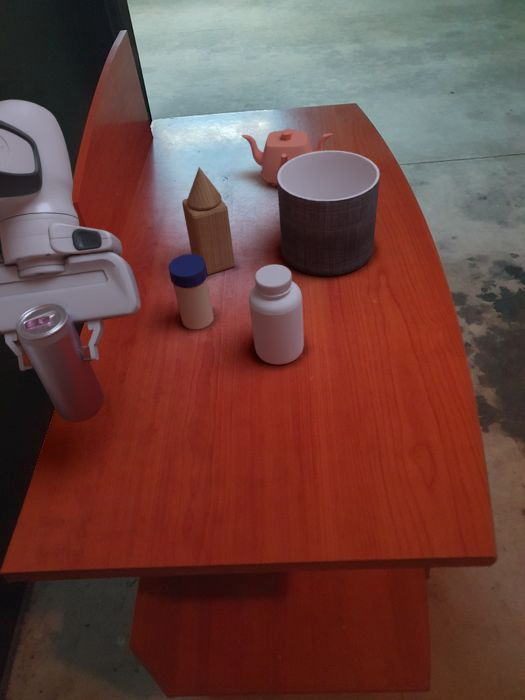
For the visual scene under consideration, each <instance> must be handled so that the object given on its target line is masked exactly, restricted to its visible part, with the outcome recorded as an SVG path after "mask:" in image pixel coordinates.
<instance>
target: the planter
mask: <svg viewBox="0 0 525 700" xmlns="http://www.w3.org/2000/svg"><path fill="white" fill-rule="evenodd" d="M380 176H381V173H380V169H379V167H378V166H377V165H376V163H374V162H373V160H371V159H370V158H367V157H365V156H364V155H362V154H358V153H354V152H351V151H345V150H330V149H329V150H324V151H317V152H311V153H306V154H303V155H300V156H297V157H295V158H293V159H291V160H289V161H288V162H286V163H285V164H284V165H283V166H282V167H281V168H280V169H279V171H278V174H277V185H278V186H277V199H278V201H277V202H278V215H279V228H280V229H279V230H280V231H279V232H280V247H281V248H280V252H281V256H282V257H283V258H282V259H284V261H285V263H287V264H288V265H289V266H290V267H292V268H293V269H295V270H297V271H299V272H301V273H304V274H308V275H312V276H320V277H334V276H335V277H336V276H341V275H346V274H350V273H352V272H354V271H356V270H359V269H361V268H362V267H363V266H365V265H366V264H367V263H368V262H369V261H370V260H371V258H372V256H373V255H374V249H375V232H376V224H377V223H376V222H377V211H378V202H379V201H378V200H379V191H380V189H379V187H380V178H381V177H380Z"/></svg>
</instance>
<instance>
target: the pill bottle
mask: <svg viewBox="0 0 525 700" xmlns="http://www.w3.org/2000/svg"><path fill="white" fill-rule="evenodd" d="M254 284H255V285H253V287H251V290H250V292H249V295H248V305H249V313H250V320H251V326H252V327H251V329H252V336H253V343H254V349H255V352H256V354H257V356H258V357H259V358H260V359H261V360H262V361H263V362H265V363H268V364H271V365H276V366H277V365H278V366H279V365H286V364H290V363H292V362H294V361H295V360H297V359H298V358H300V356H301V355H302V353H303V351H304V347H305V336H304V335H305V334H304V317H303V316H304V313H303V312H304V311H303V296H302V295H303V294H302V291H301V289H300V287H299V286H298V284H297V283H296V282H294V281H293V276H292V271H291V270H290V269H289V268H288V267H286V266H284V265H281V264H268V265H264V266H262V267H260V268H259V269H258V270H257V271H256V273H255V275H254Z"/></svg>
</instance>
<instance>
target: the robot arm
mask: <svg viewBox="0 0 525 700" xmlns="http://www.w3.org/2000/svg"><path fill="white" fill-rule="evenodd" d="M73 191H74V179H73V171H72V166H71V160H70V156H69V151H68V147H67V144H66V140H65V137H64V134H63V131H62V129H61V126H60V124H59V122H58V121H57V118H56V117H55V115H54V114H53V113H52V112H51V111H50V110H48V109H47V108H45V107H43V106H42V105H39V104H37V103H35V102H32V101H28V100H25V99H24V100H22V99H5V100H0V244H1V251H2V253H0V336H2V335H3V336H4V340H5V344H6V345H7V347H8V348H9V349H10V350H11V351H12V352H13V353H14V355H15V356H17V360H18V361H17V362H18V367H19V370H20V371H21V372H24V371H31V370H35V369H34V367H33V365H32V363H31V361H30V360H29V358H28V356H27V354H26V352H25V350H24V348H23V346H22V345H21V343H20V341H19V339H18V333H17V331H16V323H17V321H18V319H19V318H20V316H21V315H22V314H24V313H25V312H26V311H28V310H29V309H31V308H33V307H36V306H39V305H43V304H57V305H60V306H62V307H63V308H64V309H65V310H66V311H67V313H68V314H69V315H70V317H71V319H72V321H73V323H74V325H79V324H85V323H87V330H88V331H92V333H91V336H90V339H89V340H88V344H87V345H83V347H82V353H83V356H82V357H83V361H84V362H86V361H90V362H93V361H99V359H100V355H99V349H98V347H99V346H98V345H99V344H100V342H101V339H102V337H103V334H104V332H105V324H104V321H107V320H114V319H121V318H128V317H134V316H137V315H138V313H139V312H140V310H141V308H142V302H141V301H142V300H141V297H140V291H139V287H138V283H137V281H136V277H135V274H134V271H133V269H132V267H131V265H130V264H129V262H128V261H126V260H125V259H124V258H123V257H122V255H123V252H124V251H123V244H122V242H121V241H120V239H119V238H118V237H117V236H116V235H114V234H113V233H111V232H109V231H107V230H104V229H97V228H93V227H85V226H80V219H79V215H78V213H77V210H76V209H75V206H74V202H73Z"/></svg>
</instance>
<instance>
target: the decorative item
mask: <svg viewBox="0 0 525 700" xmlns="http://www.w3.org/2000/svg"><path fill="white" fill-rule="evenodd" d="M196 171H197V172H196V174H195V177H194V179H193V182H192V185H191V188H190V191H189V193H188V196H187V198H185V199H183V200H182V202H181V204H182V210H183V215H184V221H185V225H186V231H187V237H188V242H189V247H190V252H191V254H195V255H199V256H201V257H202V258H203V259H204V260H205V263H206V268H207V274H208V276H209V275H212V274H215V273H218V272H221V271H225V270H227V269H231V268H233V267H234V266H235V255H234V247H233V240H232V233H231V232H232V231H231V224H230V217H229V208H228V206H227V204H226V203H225V202H224V200H223V199H222V194H221V193H220V192H219V191H218V189H217V188H216V186H215V185H214V184H213V183H212V181H211V180H210V179H209V178H208V176H207V175H206V173H205V172H204V171H203V169H202V168H201V167H200V166H198V169H197V170H196Z"/></svg>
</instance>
